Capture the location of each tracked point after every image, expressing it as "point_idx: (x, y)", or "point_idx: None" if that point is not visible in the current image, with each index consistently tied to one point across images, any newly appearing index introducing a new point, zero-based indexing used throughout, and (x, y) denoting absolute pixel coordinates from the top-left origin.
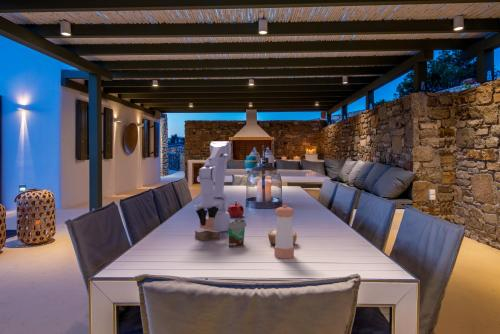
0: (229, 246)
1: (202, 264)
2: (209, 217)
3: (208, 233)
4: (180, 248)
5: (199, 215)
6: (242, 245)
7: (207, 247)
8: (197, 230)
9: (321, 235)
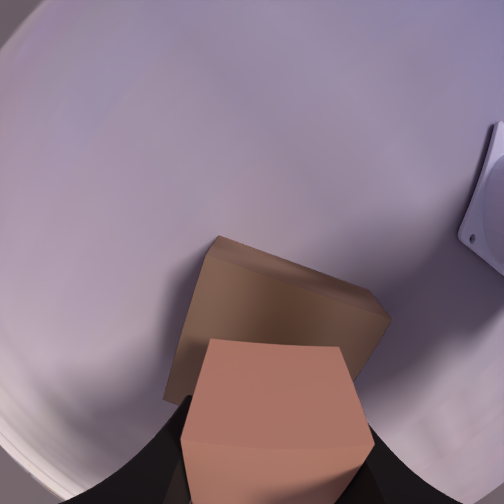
0: None
1: (39, 459)
2: (315, 492)
3: None
4: (18, 343)
5: (120, 494)
6: None
7: (117, 432)
8: (232, 268)
9: (470, 491)
